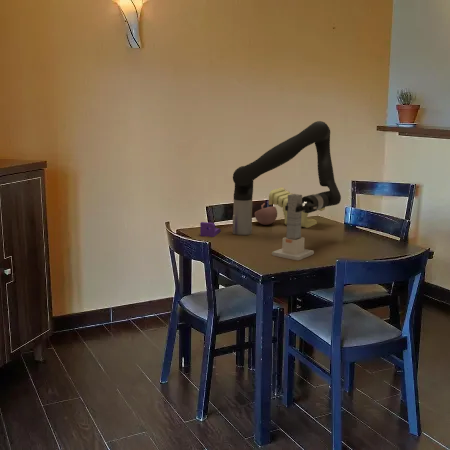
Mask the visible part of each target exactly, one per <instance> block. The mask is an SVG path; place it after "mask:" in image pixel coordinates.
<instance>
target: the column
mask: <svg viewBox="0 0 450 450" xmlns="http://www.w3.org/2000/svg"><path fill="white" fill-rule="evenodd" d="M302 197H303V195H302V194H297V193H292V194H291V195H288V205H287V206H288V208H287V225H286V237H287V238H288V239H293V240H297V239H300V238H301V237H302V227H301V215H302V211H300V212H296V207H298V206H301V205H302Z"/></svg>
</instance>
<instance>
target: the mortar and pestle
mask: <svg viewBox="0 0 450 450" xmlns="http://www.w3.org/2000/svg"><path fill="white" fill-rule="evenodd" d="M264 206H266V203H265V202H263V203H262V204H260V209H258V210H256V211H255V212H254V218H255V219H256V221H257V223H259V224H260V225H264V226H267V225H272V224H273V223H274V222H275V221H276V220H277V218H278V210H277V207H276V206H275V205H274V206H272V205H271V206H267V207H264Z"/></svg>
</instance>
